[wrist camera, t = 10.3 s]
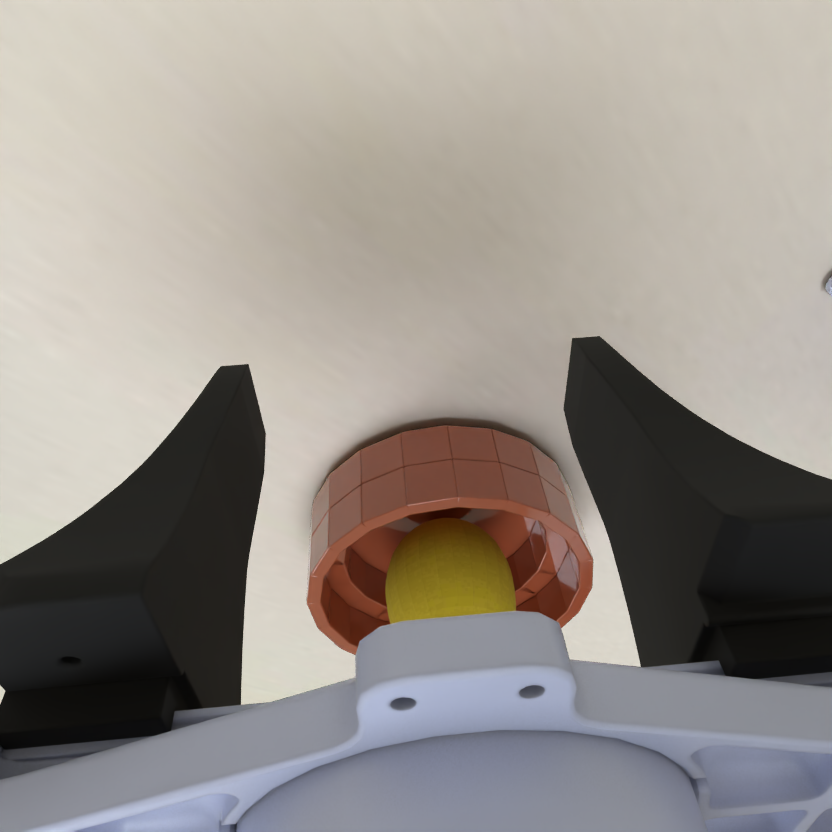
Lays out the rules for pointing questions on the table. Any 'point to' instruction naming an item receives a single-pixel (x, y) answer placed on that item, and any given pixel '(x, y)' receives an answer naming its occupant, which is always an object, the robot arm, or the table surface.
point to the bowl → (443, 498)
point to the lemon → (448, 573)
